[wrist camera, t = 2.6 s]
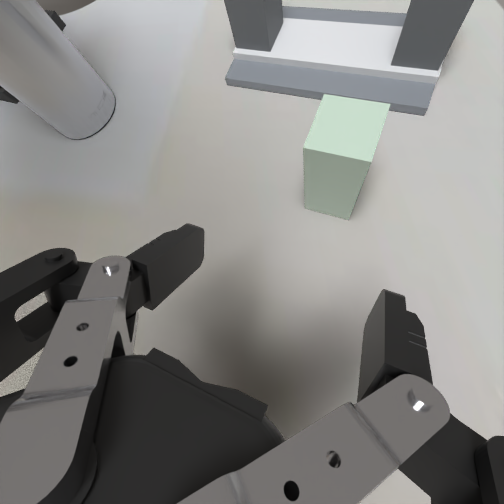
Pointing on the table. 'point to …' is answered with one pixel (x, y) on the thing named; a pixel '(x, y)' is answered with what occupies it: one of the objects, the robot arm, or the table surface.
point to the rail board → (344, 50)
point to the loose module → (340, 152)
